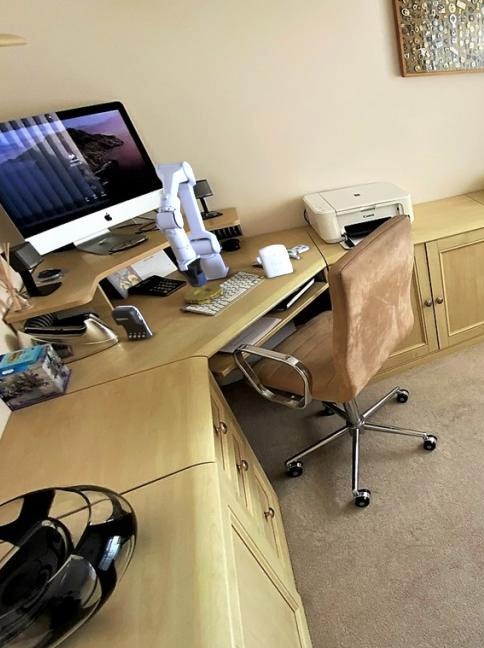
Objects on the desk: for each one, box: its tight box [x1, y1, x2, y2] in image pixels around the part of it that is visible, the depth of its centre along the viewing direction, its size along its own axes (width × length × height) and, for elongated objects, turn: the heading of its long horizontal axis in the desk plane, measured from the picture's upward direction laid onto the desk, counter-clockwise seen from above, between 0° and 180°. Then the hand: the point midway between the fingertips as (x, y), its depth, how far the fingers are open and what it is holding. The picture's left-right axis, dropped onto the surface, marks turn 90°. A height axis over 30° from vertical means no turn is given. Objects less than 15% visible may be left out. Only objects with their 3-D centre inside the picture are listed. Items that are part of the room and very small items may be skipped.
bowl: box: [186, 269, 208, 288], centre depth 156 cm, size 6×6×4 cm
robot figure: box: [255, 244, 310, 266], centre depth 189 cm, size 16×3×22 cm
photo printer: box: [258, 244, 294, 279], centre depth 171 cm, size 10×4×12 cm, turn 123°
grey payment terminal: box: [110, 305, 154, 341], centre depth 135 cm, size 7×4×11 cm, turn 92°
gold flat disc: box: [183, 283, 224, 305], centre depth 160 cm, size 12×12×2 cm
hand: (197, 280), depth 156 cm, fingers closed on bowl, 5 cm apart
